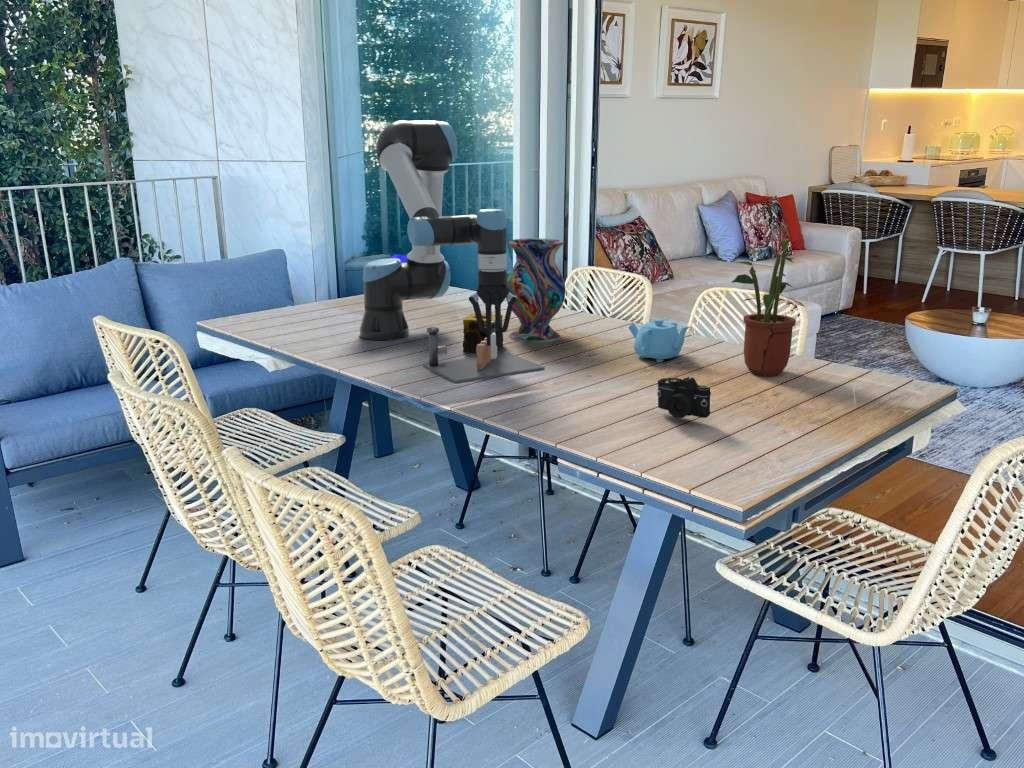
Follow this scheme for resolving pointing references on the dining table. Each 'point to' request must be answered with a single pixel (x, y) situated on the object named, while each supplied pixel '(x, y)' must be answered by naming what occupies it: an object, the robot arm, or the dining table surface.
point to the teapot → (658, 340)
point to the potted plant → (767, 324)
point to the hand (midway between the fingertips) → (494, 357)
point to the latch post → (434, 347)
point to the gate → (483, 354)
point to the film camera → (684, 397)
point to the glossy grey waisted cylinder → (494, 331)
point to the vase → (536, 289)
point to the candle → (475, 333)
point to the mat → (496, 367)
